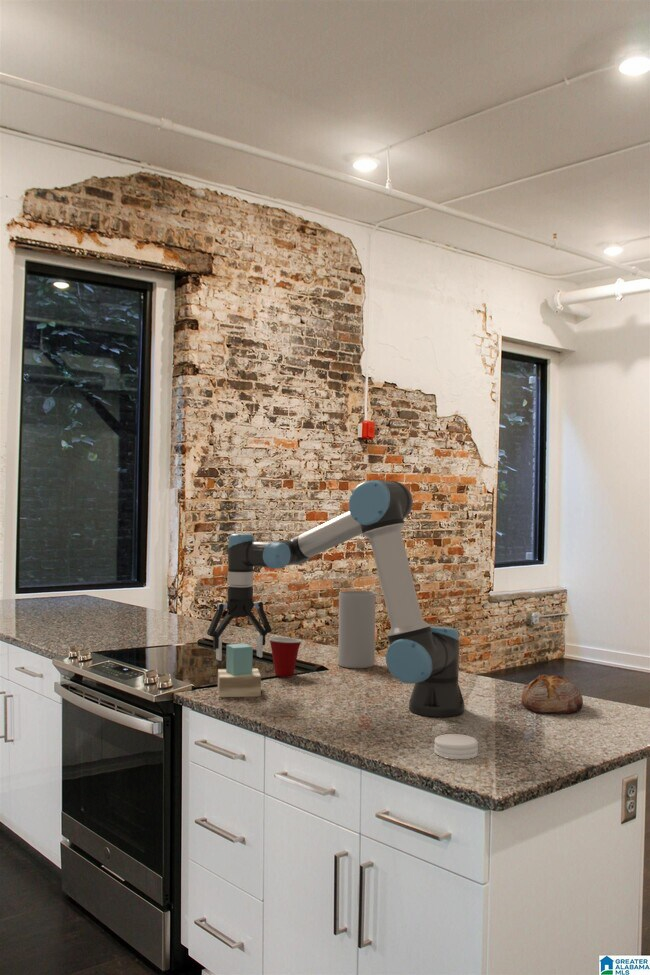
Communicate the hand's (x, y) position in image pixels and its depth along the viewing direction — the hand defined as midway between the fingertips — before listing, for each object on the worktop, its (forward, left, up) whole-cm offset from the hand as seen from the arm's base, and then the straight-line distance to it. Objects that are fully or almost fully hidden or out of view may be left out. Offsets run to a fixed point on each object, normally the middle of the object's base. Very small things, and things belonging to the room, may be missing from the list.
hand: (239, 658), depth 260 cm
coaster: (-77, -24, -10) cm, 81 cm away
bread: (-52, -74, -10) cm, 91 cm away
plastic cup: (+16, -22, -10) cm, 29 cm away
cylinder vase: (+21, -51, -10) cm, 56 cm away
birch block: (0, 0, -10) cm, 10 cm away
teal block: (0, 0, -4) cm, 4 cm away
